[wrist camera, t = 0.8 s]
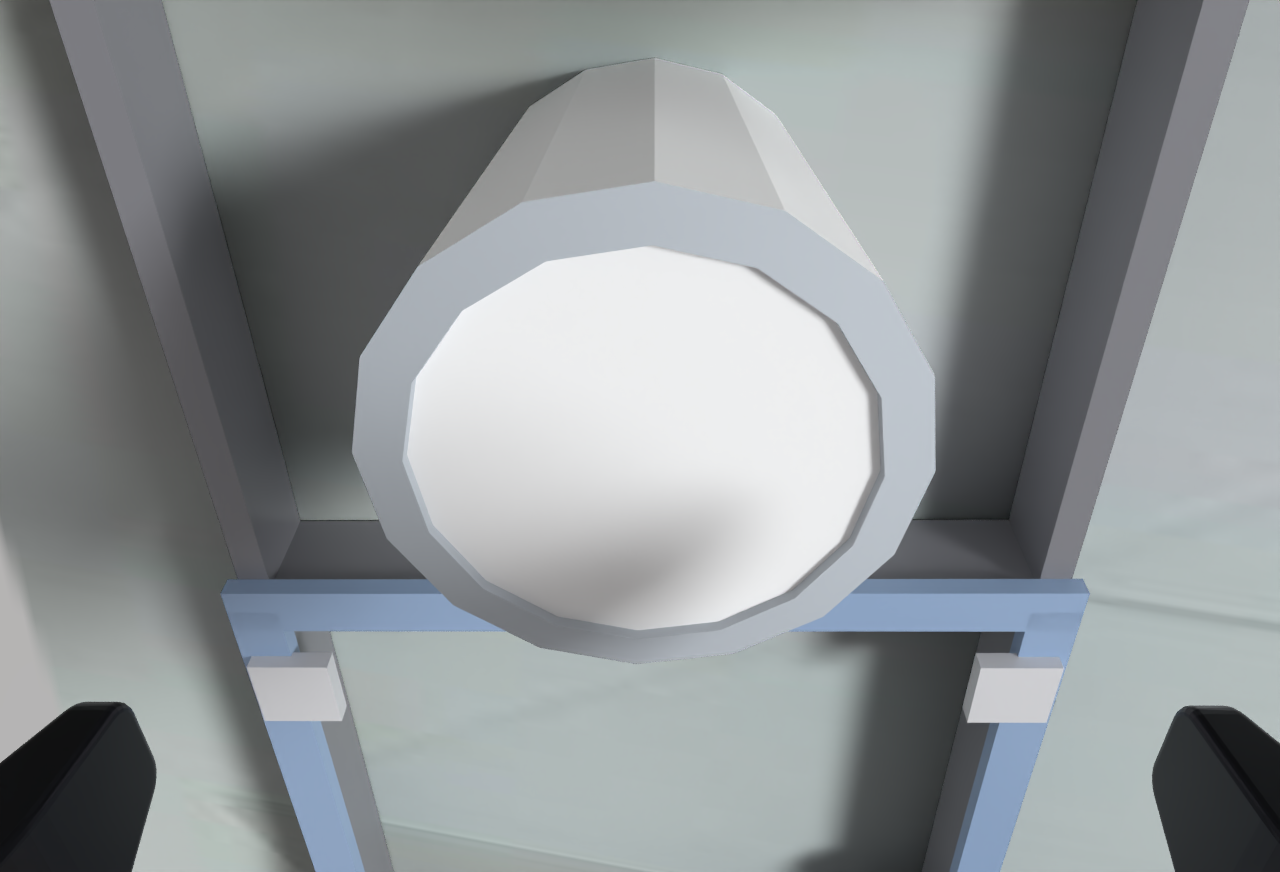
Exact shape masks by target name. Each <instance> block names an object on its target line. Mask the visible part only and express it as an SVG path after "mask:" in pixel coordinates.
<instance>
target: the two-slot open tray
mask: <svg viewBox="0 0 1280 872" xmlns="http://www.w3.org/2000/svg"><path fill="white" fill-rule="evenodd" d="M49 1H50V4H51V7H52V10H53V13H54V16H55V19H56V23H57V26H58V29H59V32H60V35H61V38H62V41H63V44H64V47H65V50H66V53H67V56H68V59H69V62H70V66H71V69H72V72H73V75H74V78H75V81H76V84H77V87H78V90H79V93H80V96H81V99H82V102H83V105H84V109H85V112H86V115H87V118H88V121H89V124H90V127H91V130H92V133H93V136H94V139H95V142H96V145H97V148H98V151H99V155H100V158H101V161H102V164H103V167H104V170H105V173H106V176H107V179H108V182H109V185H110V188H111V191H112V194H113V198H114V201H115V204H116V207H117V210H118V213H119V216H120V219H121V222H122V225H123V228H124V231H125V234H126V237H127V241H128V244H129V247H130V250H131V253H132V256H133V259H134V262H135V265H136V268H137V271H138V274H139V277H140V280H141V284H142V287H143V290H144V293H145V296H146V299H147V302H148V305H149V308H150V311H151V314H152V317H153V320H154V323H155V327H156V330H157V333H158V336H159V339H160V342H161V345H162V348H163V351H164V354H165V357H166V360H167V363H168V366H169V370H170V373H171V376H172V379H173V382H174V385H175V388H176V391H177V394H178V397H179V400H180V403H181V406H182V409H183V413H184V416H185V419H186V422H187V425H188V428H189V431H190V434H191V437H192V440H193V443H194V446H195V449H196V452H197V455H198V459H199V462H200V465H201V468H202V471H203V474H204V477H205V480H206V483H207V486H208V489H209V492H210V495H211V498H212V502H213V505H214V508H215V511H216V514H217V517H218V520H219V523H220V526H221V529H222V532H223V535H224V538H225V541H226V545H227V548H228V551H229V554H230V557H231V560H232V563H233V566H234V569H235V572H236V575H237V578H238V579H228V580H227V582H226V584H225V586H224V588H223V590H222V592H221V597H222V600H223V603H224V606H225V609H226V612H227V615H228V618H229V621H230V624H231V626H232V629H233V632H234V635H235V638H236V641H237V644H238V647H239V650H240V653H241V656H242V659H243V661H244V664H245V667H246V670H247V673H248V676H249V679H250V682H251V685H252V688H253V691H254V694H255V696H256V699H257V702H258V705H259V708H260V711H261V714H262V717H263V720H264V723H265V726H266V729H267V731H268V734H269V737H270V740H271V743H272V746H273V749H274V752H275V755H276V758H277V761H278V764H279V766H280V769H281V772H282V775H283V778H284V781H285V784H286V787H287V790H288V793H289V796H290V799H291V802H292V804H293V807H294V810H295V813H296V816H297V819H298V822H299V825H300V828H301V831H302V834H303V837H304V839H305V842H306V845H307V848H308V851H309V854H310V857H311V860H312V863H313V866H314V869H315V872H394V870H393V866H392V863H391V859H390V855H389V851H388V848H387V844H386V840H385V836H384V833H383V829H382V825H381V821H380V818H379V814H378V810H377V806H376V803H375V799H374V795H373V791H372V788H371V784H370V780H369V776H368V773H367V769H366V765H365V761H364V758H363V754H362V750H361V746H360V743H359V739H358V735H357V731H356V728H355V724H354V720H353V716H352V713H351V709H350V705H349V701H348V698H347V694H346V690H345V686H344V683H343V679H342V675H341V671H340V668H339V664H338V660H337V656H336V653H335V649H334V645H333V641H332V638H331V634H330V631H505V630H503V629H501V628H499V627H497V626H495V625H493V624H491V623H488V622H486V621H484V620H482V619H480V618H478V617H476V616H474V615H472V614H470V613H468V612H466V611H464V610H462V609H460V608H458V607H456V606H454V605H453V604H452V603H451V602H450V601H449V600H448V599H447V598H446V597H445V596H444V595H443V594H442V593H441V592H440V591H439V590H438V589H437V588H436V587H435V586H434V585H433V584H432V583H431V582H430V581H429V580H428V579H427V578H426V577H425V576H424V575H423V574H422V573H421V572H420V571H419V570H418V569H417V568H416V567H415V566H414V565H413V564H412V563H411V562H410V561H409V560H408V559H407V558H406V557H405V556H404V555H403V554H402V553H401V552H400V551H399V550H398V549H397V548H396V547H395V546H394V545H393V544H392V543H391V542H390V541H389V540H388V539H387V538H386V536H385V533H384V531H383V528H382V526H381V523H380V521H300V517H299V514H298V510H297V506H296V502H295V499H294V495H293V491H292V487H291V484H290V480H289V476H288V472H287V469H286V465H285V461H284V457H283V454H282V450H281V446H280V442H279V439H278V435H277V431H276V427H275V424H274V420H273V416H272V412H271V409H270V405H269V401H268V397H267V394H266V390H265V386H264V382H263V379H262V375H261V371H260V367H259V363H258V360H257V356H256V352H255V348H254V345H253V341H252V337H251V333H250V330H249V326H248V322H247V318H246V315H245V311H244V307H243V303H242V300H241V296H240V292H239V288H238V285H237V281H236V277H235V273H234V270H233V266H232V262H231V258H230V255H229V251H228V247H227V243H226V240H225V236H224V232H223V228H222V225H221V221H220V217H219V213H218V210H217V206H216V202H215V198H214V195H213V191H212V187H211V183H210V180H209V176H208V172H207V168H206V165H205V161H204V157H203V153H202V150H201V146H200V142H199V138H198V135H197V131H196V127H195V123H194V120H193V116H192V112H191V108H190V105H189V101H188V97H187V93H186V89H185V86H184V82H183V78H182V74H181V71H180V67H179V63H178V59H177V56H176V52H175V48H174V44H173V41H172V37H171V33H170V29H169V26H168V22H167V18H166V14H165V11H164V7H163V3H162V0H49ZM1248 3H1249V0H1137V4H1136V8H1135V12H1134V16H1133V20H1132V24H1131V28H1130V32H1129V36H1128V40H1127V44H1126V48H1125V52H1124V56H1123V60H1122V64H1121V68H1120V72H1119V76H1118V80H1117V84H1116V89H1115V93H1114V97H1113V101H1112V105H1111V109H1110V113H1109V117H1108V121H1107V125H1106V129H1105V133H1104V137H1103V141H1102V145H1101V149H1100V153H1099V157H1098V161H1097V165H1096V169H1095V173H1094V177H1093V181H1092V185H1091V190H1090V194H1089V198H1088V202H1087V206H1086V210H1085V214H1084V218H1083V222H1082V226H1081V230H1080V234H1079V238H1078V242H1077V246H1076V250H1075V254H1074V258H1073V262H1072V266H1071V270H1070V274H1069V278H1068V282H1067V286H1066V291H1065V295H1064V299H1063V303H1062V307H1061V311H1060V315H1059V319H1058V323H1057V327H1056V331H1055V335H1054V339H1053V343H1052V347H1051V351H1050V355H1049V359H1048V363H1047V367H1046V371H1045V375H1044V379H1043V383H1042V387H1041V392H1040V396H1039V400H1038V404H1037V408H1036V412H1035V416H1034V420H1033V424H1032V428H1031V432H1030V436H1029V440H1028V444H1027V448H1026V452H1025V456H1024V460H1023V464H1022V468H1021V472H1020V476H1019V480H1018V484H1017V488H1016V493H1015V497H1014V501H1013V505H1012V509H1011V513H1010V517H1009V520H911V522H910V524H909V526H908V528H907V530H906V532H905V534H904V536H903V538H902V540H901V542H900V544H899V546H898V548H897V550H896V552H895V554H894V555H893V556H892V557H891V558H890V559H889V560H888V561H886V562H885V563H884V564H883V565H882V566H881V567H880V568H878V569H877V570H876V571H875V572H874V573H873V574H872V575H870V576H869V577H868V578H867V579H866V580H865V581H864V582H862V583H861V584H860V585H859V586H858V587H857V588H856V589H854V590H853V591H852V592H851V593H850V594H849V595H848V596H846V597H845V598H844V599H843V600H842V601H841V602H840V603H838V604H837V605H836V606H835V607H834V608H833V609H832V610H830V611H829V612H828V613H827V614H826V615H825V616H824V617H821V618H819V619H817V620H814V621H812V622H809V623H807V624H804V625H802V626H800V627H797V628H795V629H792V630H790V631H901V632H981V634H980V638H979V642H978V646H977V650H976V654H975V658H974V662H973V666H972V670H971V674H970V678H969V682H968V686H967V690H966V695H965V699H964V703H963V707H962V711H961V715H960V719H959V723H958V727H957V731H956V735H955V739H954V743H953V747H952V751H951V755H950V759H949V763H948V767H947V771H946V775H945V779H944V783H943V787H942V791H941V795H940V800H939V804H938V808H937V812H936V816H935V820H934V824H933V828H932V832H931V836H930V840H929V844H928V848H927V852H926V856H925V860H924V864H923V868H922V872H1000V870H1001V867H1002V864H1003V860H1004V857H1005V854H1006V851H1007V848H1008V845H1009V842H1010V839H1011V836H1012V833H1013V830H1014V826H1015V823H1016V820H1017V817H1018V814H1019V811H1020V808H1021V805H1022V802H1023V799H1024V796H1025V792H1026V789H1027V786H1028V783H1029V780H1030V777H1031V774H1032V771H1033V768H1034V765H1035V762H1036V758H1037V755H1038V752H1039V749H1040V746H1041V743H1042V740H1043V737H1044V734H1045V731H1046V728H1047V724H1048V721H1049V718H1050V715H1051V712H1052V709H1053V706H1054V703H1055V700H1056V697H1057V694H1058V691H1059V687H1060V684H1061V681H1062V678H1063V675H1064V672H1065V669H1066V666H1067V663H1068V660H1069V657H1070V653H1071V650H1072V647H1073V644H1074V641H1075V638H1076V635H1077V632H1078V629H1079V626H1080V623H1081V619H1082V616H1083V613H1084V610H1085V607H1086V604H1087V601H1088V598H1089V595H1090V593H1089V591H1088V589H1087V587H1086V585H1085V583H1084V581H1083V579H1072V577H1073V574H1074V571H1075V567H1076V564H1077V561H1078V558H1079V554H1080V551H1081V548H1082V545H1083V541H1084V538H1085V535H1086V532H1087V528H1088V525H1089V522H1090V519H1091V515H1092V512H1093V509H1094V505H1095V502H1096V499H1097V496H1098V492H1099V489H1100V486H1101V483H1102V479H1103V476H1104V473H1105V470H1106V466H1107V463H1108V460H1109V457H1110V453H1111V450H1112V447H1113V444H1114V440H1115V437H1116V434H1117V430H1118V427H1119V424H1120V421H1121V417H1122V414H1123V411H1124V408H1125V404H1126V401H1127V398H1128V395H1129V391H1130V388H1131V385H1132V382H1133V378H1134V375H1135V372H1136V368H1137V365H1138V362H1139V359H1140V355H1141V352H1142V349H1143V346H1144V342H1145V339H1146V336H1147V333H1148V329H1149V326H1150V323H1151V320H1152V316H1153V313H1154V310H1155V306H1156V303H1157V300H1158V297H1159V293H1160V290H1161V287H1162V284H1163V280H1164V277H1165V274H1166V271H1167V267H1168V264H1169V261H1170V258H1171V254H1172V251H1173V248H1174V245H1175V241H1176V238H1177V235H1178V231H1179V228H1180V225H1181V222H1182V218H1183V215H1184V212H1185V209H1186V205H1187V202H1188V199H1189V196H1190V192H1191V189H1192V186H1193V183H1194V179H1195V176H1196V173H1197V169H1198V166H1199V163H1200V160H1201V156H1202V153H1203V150H1204V147H1205V143H1206V140H1207V137H1208V134H1209V130H1210V127H1211V124H1212V121H1213V117H1214V114H1215V111H1216V108H1217V104H1218V101H1219V98H1220V94H1221V91H1222V88H1223V85H1224V81H1225V78H1226V75H1227V72H1228V68H1229V65H1230V62H1231V59H1232V55H1233V52H1234V49H1235V46H1236V42H1237V39H1238V36H1239V32H1240V29H1241V26H1242V23H1243V19H1244V16H1245V13H1246V10H1247V6H1248Z"/></svg>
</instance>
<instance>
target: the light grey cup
mask: <svg viewBox="0 0 1280 872" xmlns="http://www.w3.org/2000/svg"><path fill="white" fill-rule="evenodd" d="M352 455H353V457H354V460H355V462H356V464H357V467H358V469H359V472H360V474H361V477H362V479H363V482H364V484H365V487H366V489H367V491H368V494H369V496H370V499H371V501H372V504H373V506H374V509H375V511H376V514H377V516H378V518H379V521H380V523H381V526H382V528H383V531H384V533H385V536H386V538H387V539H388V540H389V541H390V542H391V543H392V544H393V545H394V546H395V547H396V548H397V549H398V550H399V551H400V552H401V553H402V554H403V555H404V556H405V557H406V558H407V559H408V560H409V561H410V562H411V563H412V564H413V565H414V566H415V567H416V568H417V569H418V570H419V571H420V572H421V573H422V574H423V575H424V576H425V577H426V578H427V579H428V580H429V581H430V582H431V583H432V584H433V585H434V586H435V587H436V588H437V589H438V590H439V591H440V592H441V593H442V594H443V595H444V596H445V597H446V598H447V599H448V600H449V601H450V602H451V603H452V604H453V605H454V606H456V607H458V608H460V609H462V610H464V611H466V612H468V613H470V614H472V615H474V616H476V617H478V618H480V619H482V620H484V621H486V622H488V623H491V624H493V625H495V626H497V627H499V628H501V629H503V630H505V631H507V632H509V633H511V634H513V635H515V636H517V637H519V638H521V639H523V640H525V641H527V642H529V643H531V644H533V645H535V646H537V647H540V648H545V649H551V650H557V651H563V652H568V653H574V654H580V655H586V656H592V657H598V658H604V659H610V660H616V661H622V662H628V663H633V664H641V663H650V662H660V661H669V660H679V659H688V658H698V657H707V656H716V655H726V654H734V653H737V652H739V651H741V650H744V649H746V648H749V647H751V646H754V645H756V644H758V643H761V642H763V641H766V640H768V639H771V638H773V637H775V636H778V635H780V634H783V633H785V632H788V631H790V630H792V629H795V628H797V627H800V626H802V625H804V624H807V623H809V622H812V621H814V620H817V619H819V618H821V617H824V616H825V615H826V614H827V613H828V612H829V611H830V610H832V609H833V608H834V607H835V606H836V605H837V604H838V603H840V602H841V601H842V600H843V599H844V598H845V597H846V596H848V595H849V594H850V593H851V592H852V591H853V590H854V589H856V588H857V587H858V586H859V585H860V584H861V583H862V582H864V581H865V580H866V579H867V578H868V577H869V576H870V575H872V574H873V573H874V572H875V571H876V570H877V569H878V568H880V567H881V566H882V565H883V564H884V563H885V562H886V561H888V560H889V559H890V558H891V557H892V556H893V555H894V554H895V552H896V550H897V548H898V546H899V544H900V542H901V540H902V538H903V536H904V534H905V532H906V530H907V528H908V526H909V524H910V522H911V520H912V518H913V516H914V514H915V512H916V510H917V508H918V506H919V504H920V502H921V500H922V498H923V496H924V494H925V492H926V490H927V488H928V486H929V484H930V482H931V480H932V478H933V476H934V473H935V471H936V458H935V374H934V373H933V371H932V369H931V367H930V365H929V363H928V362H927V360H926V358H925V356H924V354H923V352H922V350H921V349H920V347H919V345H918V343H917V341H916V339H915V338H914V336H913V334H912V332H911V330H910V328H909V326H908V325H907V323H906V321H905V319H904V317H903V315H902V314H901V312H900V310H899V308H898V306H897V304H896V302H895V301H894V299H893V297H892V295H891V293H890V291H889V290H888V288H887V286H886V284H885V282H884V281H883V279H882V277H881V276H880V274H879V273H878V271H877V270H876V268H875V267H874V265H873V264H872V262H871V260H870V259H869V257H868V256H867V254H866V253H865V251H864V250H863V248H862V247H861V245H860V243H859V242H858V240H857V239H856V237H855V236H854V234H853V233H852V231H851V230H850V228H849V226H848V225H847V223H846V222H845V220H844V219H843V217H842V216H841V214H840V213H839V211H838V209H837V208H836V206H835V205H834V203H833V202H832V200H831V199H830V197H829V196H828V194H827V192H826V191H825V189H824V188H823V186H822V185H821V183H820V182H819V180H818V179H817V177H816V175H815V174H814V172H813V171H812V169H811V168H810V166H809V165H808V163H807V162H806V160H805V159H804V157H803V155H802V154H801V152H800V151H799V149H798V148H797V146H796V145H795V143H794V142H793V140H792V138H791V137H790V135H789V134H788V132H787V131H786V129H785V128H784V126H783V125H782V123H781V121H780V120H779V118H778V117H777V115H776V114H775V113H773V112H772V111H771V110H769V109H768V108H767V107H765V106H764V105H763V104H761V103H760V102H759V101H758V100H756V99H755V98H754V97H752V96H751V95H750V94H748V93H747V92H746V91H744V90H743V89H742V88H740V87H739V86H738V85H736V84H735V83H734V82H732V81H731V80H730V79H728V78H727V77H726V76H724V75H723V74H720V73H716V72H712V71H708V70H704V69H700V68H695V67H691V66H687V65H683V64H679V63H675V62H670V61H666V60H662V59H658V58H650V59H644V60H638V61H632V62H627V63H621V64H615V65H609V66H603V67H597V68H591V69H586V70H584V71H583V72H581V73H580V74H578V75H577V76H575V77H574V78H572V79H571V80H569V81H567V82H566V83H564V84H563V85H561V86H560V87H558V88H557V89H555V90H554V91H552V92H551V93H549V94H548V95H546V96H544V97H543V98H541V99H540V100H538V101H537V102H535V103H534V104H532V105H531V106H529V108H528V109H527V111H526V112H525V113H524V115H523V116H522V118H521V119H520V121H519V122H518V123H517V125H516V126H515V128H514V129H513V131H512V132H511V133H510V135H509V136H508V138H507V139H506V141H505V142H504V144H503V145H502V146H501V148H500V149H499V151H498V152H497V154H496V155H495V156H494V158H493V159H492V161H491V162H490V164H489V165H488V166H487V168H486V169H485V171H484V172H483V174H482V175H481V176H480V178H479V179H478V181H477V182H476V184H475V185H474V186H473V188H472V189H471V191H470V192H469V194H468V195H467V197H466V198H465V199H464V201H463V202H462V204H461V205H460V207H459V208H458V209H457V211H456V212H455V214H454V215H453V217H452V218H451V219H450V221H449V222H448V224H447V225H446V227H445V228H444V229H443V231H442V232H441V234H440V235H439V237H438V238H437V239H436V241H435V242H434V244H433V245H432V247H431V248H430V250H429V251H428V252H427V254H426V255H425V257H424V258H423V260H422V261H421V262H420V264H419V265H418V267H417V268H416V270H415V271H414V273H413V275H412V276H411V278H410V279H409V281H408V282H407V284H406V285H405V287H404V289H403V290H402V292H401V293H400V295H399V296H398V298H397V299H396V301H395V303H394V304H393V306H392V307H391V309H390V310H389V312H388V314H387V315H386V317H385V318H384V320H383V321H382V323H381V324H380V326H379V328H378V329H377V331H376V332H375V334H374V335H373V337H372V338H371V340H370V342H369V343H368V345H367V346H366V348H365V349H364V351H363V353H362V354H361V356H360V359H359V371H358V383H357V395H356V408H355V420H354V432H353V444H352Z"/></svg>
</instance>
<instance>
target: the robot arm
mask: <svg viewBox="0 0 1280 872" xmlns="http://www.w3.org/2000/svg"><path fill="white" fill-rule="evenodd" d="M1152 784H1153V792H1154V796H1155V800H1156V804H1157V807H1158V811H1159V815H1160V818H1161V822H1162V825H1163V829H1164V833H1165V836H1166V840H1167V844H1168V847H1169V851H1170V855H1171V858H1172V862H1173V866H1174V869H1175V872H1280V743H1279V742H1278V741H1276V740H1275V739H1274V738H1273V737H1271V736H1270V735H1269V734H1268V733H1266V732H1265V731H1264V730H1263V729H1262V728H1260V727H1259V726H1258V725H1257V724H1255V723H1254V722H1253V721H1252V720H1250V719H1249V718H1248V717H1247V716H1246V715H1244V714H1243V713H1241V712H1240V711H1238V710H1236V709H1234V708H1232V707H1228V706H1185V707H1183V708H1182V709H1180V710H1179V711H1178V712H1177V713H1176V715H1175V717H1174V719H1173V721H1172V723H1171V726H1170V728H1169V730H1168V733H1167V735H1166V737H1165V740H1164V742H1163V744H1162V747H1161V749H1160V751H1159V754H1158V756H1157V758H1156V761H1155V763H1154V767H1153V773H1152ZM155 785H156V764H155V760H154V757H153V755H152V753H151V750H150V748H149V746H148V744H147V741H146V739H145V737H144V735H143V732H142V730H141V728H140V726H139V723H138V721H137V719H136V717H135V714H134V712H133V711H132V709H131V708H130V707H129V706H127V705H126V704H125V703H121V702H82V703H78V704H76V705H74V706H72V707H70V708H69V709H67V710H66V711H64V712H63V713H62V714H61V715H59V716H58V717H57V718H56V719H55V720H53V721H52V722H51V723H50V724H48V725H47V726H46V727H45V728H43V729H42V730H41V731H39V732H38V733H37V734H36V735H35V736H34V737H32V738H31V739H30V740H28V741H27V742H26V743H25V744H23V745H22V746H21V747H20V748H18V749H17V750H16V751H15V752H13V753H12V754H11V755H10V756H8V757H7V758H6V759H5V760H3V761H2V762H1V763H0V872H132V869H133V865H134V861H135V858H136V854H137V851H138V847H139V844H140V840H141V836H142V833H143V829H144V826H145V822H146V819H147V815H148V811H149V808H150V804H151V801H152V797H153V793H154V789H155Z"/></svg>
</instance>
